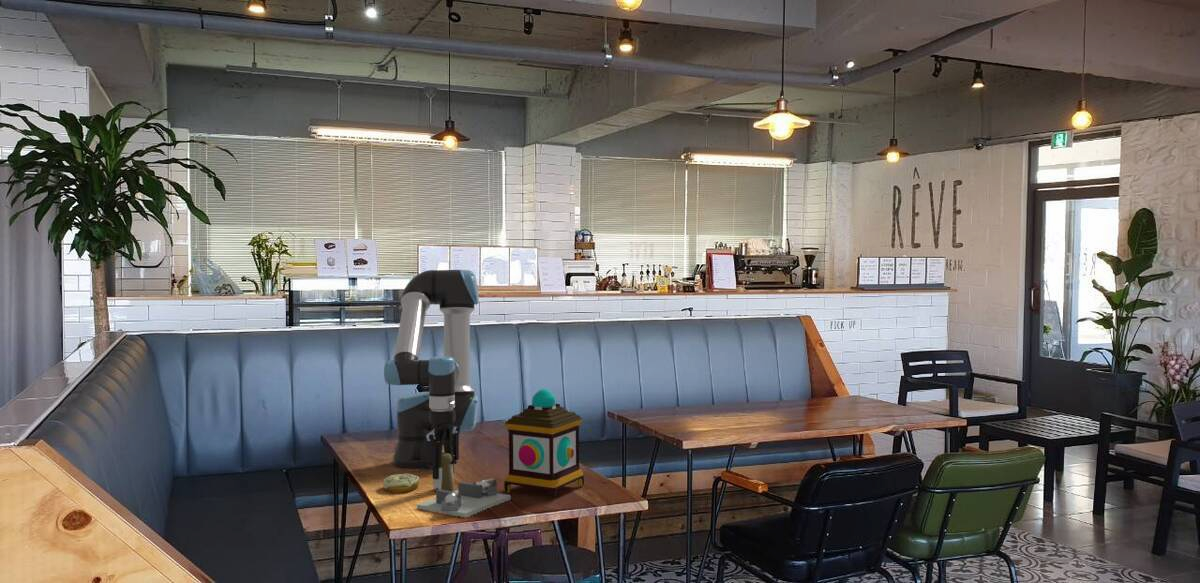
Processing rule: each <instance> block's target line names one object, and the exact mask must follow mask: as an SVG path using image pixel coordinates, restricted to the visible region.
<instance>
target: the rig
mask: <svg viewBox="0 0 1200 583" xmlns="http://www.w3.org/2000/svg"><path fill="white" fill-rule="evenodd" d="M457 487H458V488H457V489H456V490H455V491H457V492H458V496H459V497H458V498H460V506H461V508H460V509H459V510H458V511H442V507H441V501H442V500H443V499H444V498H445V497H446V496H447V495H448V494H449V493H450V492H451V491H446V490H440V489H439V490H436V492H435V498H434V497H433V498H431V499H429V500H425V501H422V502H419V503H417V504H416V509H417V508H418V509H417V510H421V509H423V510H422V511H426V510H427V511H428V512H433V513H437V512H438V514H442V513H443V514H444V515H447V514H448V516H454V517H458V516H460V517H459V518H463V517H467V518H469V517H471V515H472V516H474V515H476V514H478V512H479V513H481V512H483V511H482V510H484V511H486V510H488V509H487V508H489V509H490V507H491V508H493V507H492V506H494V507H496V506H498V505H501V504H502V503H505V501H506V502H508V501H510V500H511V499H512V498H511V497H512V496H511V495H510V494H506V493H501V492H500V493H499V492H497V495H493V496H489V497H487V496H485V495H482V485H476V484H474V482H473V483H471V482H467V481H460V482H457ZM500 503H501V504H500ZM495 505H496V506H495ZM485 509H486V510H485ZM480 511H481V512H480ZM473 514H474V515H473Z"/></svg>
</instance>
